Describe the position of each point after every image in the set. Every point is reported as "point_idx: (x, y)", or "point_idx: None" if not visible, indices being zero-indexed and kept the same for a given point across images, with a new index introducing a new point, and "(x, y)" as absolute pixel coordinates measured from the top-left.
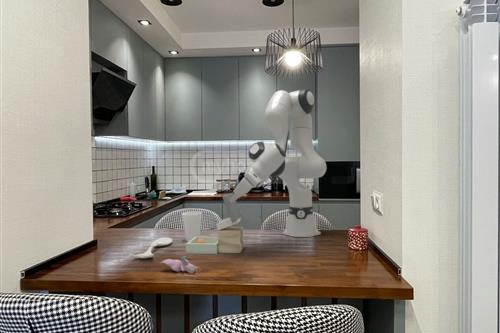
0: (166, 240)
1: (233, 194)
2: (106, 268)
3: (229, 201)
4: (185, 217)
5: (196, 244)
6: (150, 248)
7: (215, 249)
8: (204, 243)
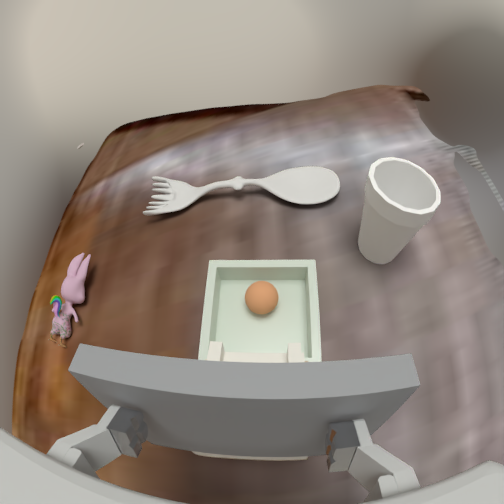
0: (323, 188)
1: (59, 439)
2: (128, 174)
3: (142, 409)
4: (367, 178)
5: (206, 294)
6: (207, 188)
7: None
8: (256, 312)
